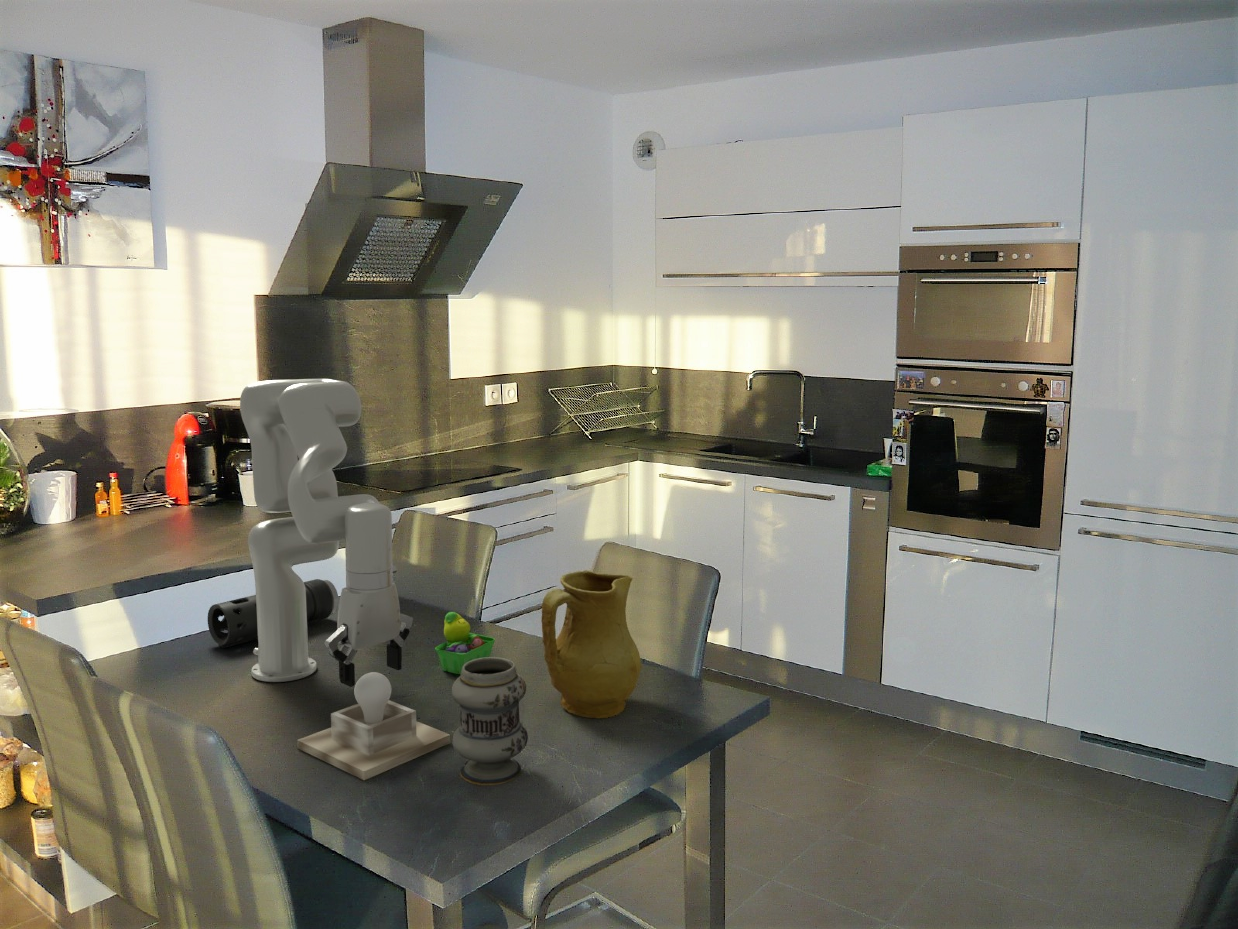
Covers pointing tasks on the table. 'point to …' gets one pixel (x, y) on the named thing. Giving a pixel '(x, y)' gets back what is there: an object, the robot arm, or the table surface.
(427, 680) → the table surface
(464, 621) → the fruit basket
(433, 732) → the socket
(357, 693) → the lightbulb
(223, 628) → the muzzle brake
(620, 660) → the pitcher
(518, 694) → the apothecary jar
